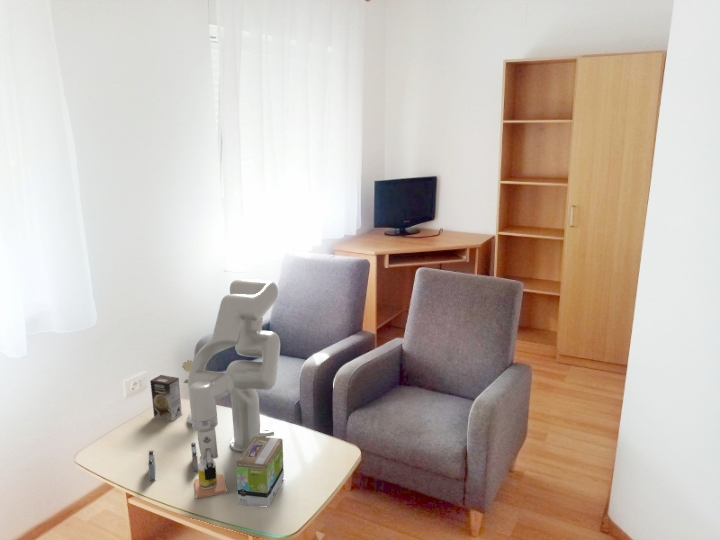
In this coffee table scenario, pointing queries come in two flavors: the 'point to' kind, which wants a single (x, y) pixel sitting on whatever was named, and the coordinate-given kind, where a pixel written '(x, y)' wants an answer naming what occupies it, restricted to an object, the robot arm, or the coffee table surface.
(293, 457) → the coffee table surface
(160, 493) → the coffee table surface
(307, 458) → the coffee table surface
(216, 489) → the coaster
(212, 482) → the supplement bottle
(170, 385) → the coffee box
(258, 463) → the tea box
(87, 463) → the coffee table surface
